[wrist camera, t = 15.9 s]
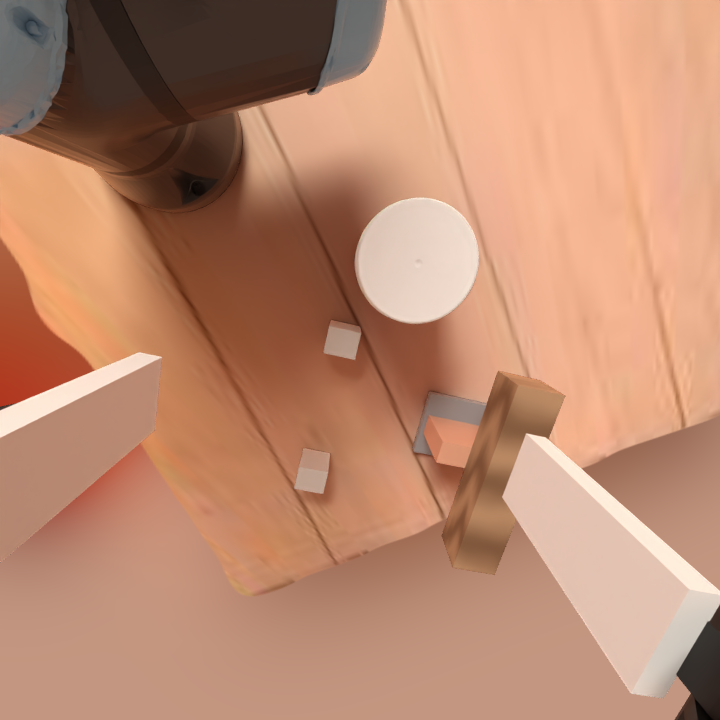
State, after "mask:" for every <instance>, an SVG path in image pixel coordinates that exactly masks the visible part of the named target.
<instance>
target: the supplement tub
mask: <svg viewBox="0 0 720 720" xmlns="http://www.w3.org/2000/svg"><path fill="white" fill-rule="evenodd" d="M354 265H355V272H356V277H357V281H358V284H359V286H360V288H361V291H362V292H363V294H364V296H365V298H366V299H367V300H368V302H369V303H370V304H371V305H372V306H373V307H374V308H375V309H376V310H377V311H379V312H380V313H382V314H383V315H384V316H386V317H388V318H390V319H393V320H396V321H399V322H403V323H408V324H423V323H429V322H432V321H436V320H438V319H441V318H443V317H444V316H446V315H448V314H449V313H451V312H452V311H454V310H455V309H456V308H457V307H458V306H459V305H460V304H461V303H462V302H463V301H464V300H465V298H466V297H467V296H468V294H469V292H470V291H471V289H472V286H473V284H474V282H475V279H476V276H477V272H478V266H479V250H478V244H477V240H476V237H475V235H474V232H473V230H472V228H471V226H470V225H469V223H468V222H467V220H466V219H465V218H464V217H463V216H462V215H461V214H460V213H459V212H458V211H457V210H456V209H454V208H453V207H451V206H450V205H448V204H446V203H444V202H441V201H438V200H435V199H431V198H410V199H405V200H401V201H398V202H395V203H393V204H391V205H389V206H387V207H386V208H384V209H383V210H382V211H380V212H379V213H378V214H377V215H376V216H375V217H374V218H373V219H372V220H371V221H370V222H369V224H368V225H367V226H366V228H365V230H364V231H363V233H362V235H361V237H360V240H359V242H358V245H357V248H356V252H355V259H354Z"/></svg>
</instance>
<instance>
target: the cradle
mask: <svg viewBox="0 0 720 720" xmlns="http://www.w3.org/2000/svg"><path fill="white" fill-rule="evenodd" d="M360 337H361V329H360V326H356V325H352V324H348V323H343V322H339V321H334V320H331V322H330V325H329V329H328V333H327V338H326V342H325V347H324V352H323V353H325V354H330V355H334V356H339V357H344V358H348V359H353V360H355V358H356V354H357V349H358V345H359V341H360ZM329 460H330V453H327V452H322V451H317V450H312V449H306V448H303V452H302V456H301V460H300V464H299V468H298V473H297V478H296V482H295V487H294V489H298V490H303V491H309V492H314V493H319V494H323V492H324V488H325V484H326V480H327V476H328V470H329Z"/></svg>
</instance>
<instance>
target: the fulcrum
mask: <svg viewBox="0 0 720 720" xmlns="http://www.w3.org/2000/svg"><path fill="white" fill-rule="evenodd" d="M486 405H487V403H482V402H478V401H473V400H469V399H464V398H459V397H455V396H450V395H445V394H441V393H436V392H431V391H429V393H428V397H427V400H426V404H425V407H424V410H423V414H422V417H421V420H420V424H419V427H418V431H417V434H416V437H415V441H414V444H413V447H412V448H413V451H414V452H418V453H423V454H428V455H433V456H434V459H435V461H436V463H441V464H446V465H451V466H456V467H461V468H465V466H466V463H467V460H468V458H469V455H470V452H471V449H472V446H473V443H474V440H475V437H476V434H477V431H478V428H479V425H480V422H481V419H482V417H483V414H484V411H485V408H486Z"/></svg>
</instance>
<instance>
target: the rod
mask: <svg viewBox="0 0 720 720" xmlns="http://www.w3.org/2000/svg"><path fill="white" fill-rule="evenodd" d="M564 398H565V395H563V394H562V393H560V392H558V391H557V390H555V389H553V388H552V387H550V386H549V385H547V384H545V383H544V382H542V381H540V380H537V379H532V378H528V377H523V376H519V375H514V374H510V373H505V372H501V371H498V373H497V376H496V378H495V381H494V384H493V387H492V390H491V393H490V396H489V399H488V402H487V405H486V408H485V411H484V414H483V417H482V419H481V422H480V425H479V428H478V431H477V434H476V437H475V440H474V443H473V446H472V449H471V452H470V455H469V458H468V460H467V463H466V466H465V469H464V472H463V475H462V478H461V481H460V484H459V487H458V490H457V493H456V496H455V499H454V501H453V504H452V507H451V510H450V513H449V516H448V519H447V522H446V525H445V528H444V531H443V534H442V537H443V541H444V544H445V547H446V550H447V553H448V555H449V558H450V561H451V564H452V567H453V568H458V569H463V570H469V571H474V572H481V573H486V574H492V575H495V572H496V570H497V567H498V565H499V562H500V560H501V557H502V554H503V552H504V549H505V547H506V544H507V542H508V539H509V537H510V534H511V532H512V529H513V527H514V524H515V522H516V518H515V516H514V515H513V513H512V512H511V510H510V509H509V507H508V506H507V504H506V502H505V501H504V499H503V498H502V496H503V494H504V491H505V488H506V486H507V483H508V480H509V478H510V475H511V472H512V470H513V467H514V465H515V462H516V459H517V457H518V454H519V451H520V449H521V446H522V443H523V441H524V438H525V435H526V433H527V434H531V435H536V436H541V437H546V438H547V439H549V436H550V433H551V431H552V428H553V426H554V423H555V421H556V418H557V416H558V413H559V411H560V408H561V406H562V403H563V401H564Z"/></svg>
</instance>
